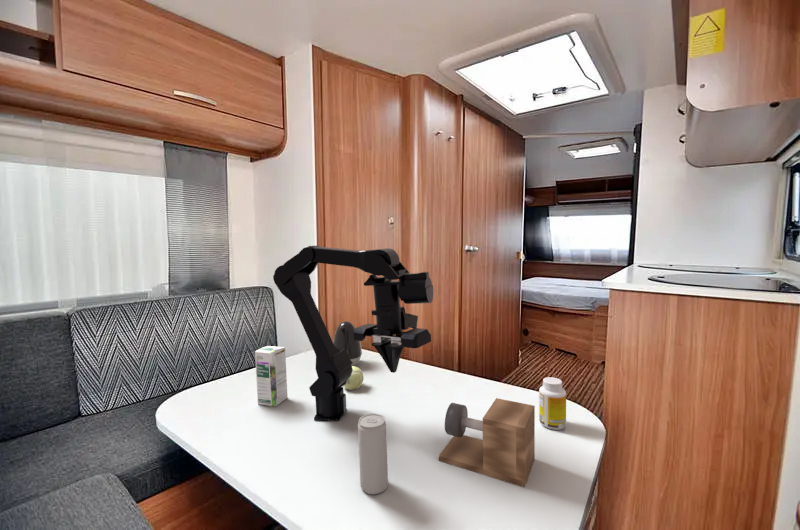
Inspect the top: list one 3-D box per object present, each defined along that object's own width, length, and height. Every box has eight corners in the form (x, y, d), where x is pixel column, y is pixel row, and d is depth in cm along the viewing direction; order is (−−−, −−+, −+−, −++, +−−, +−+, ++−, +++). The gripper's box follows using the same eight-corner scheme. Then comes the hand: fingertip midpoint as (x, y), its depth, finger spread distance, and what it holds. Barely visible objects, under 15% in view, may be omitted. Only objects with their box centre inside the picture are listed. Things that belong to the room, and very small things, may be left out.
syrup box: (256, 404, 95) (253, 351, 94) (271, 395, 101) (268, 344, 100) (275, 407, 94) (271, 352, 92) (288, 397, 99) (285, 345, 98)
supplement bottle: (571, 425, 80) (571, 381, 79) (556, 434, 77) (556, 387, 76) (548, 415, 85) (549, 373, 84) (534, 423, 82) (533, 379, 81)
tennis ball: (337, 364, 105) (350, 370, 100) (355, 362, 109) (369, 367, 104) (335, 387, 104) (348, 393, 99) (354, 383, 109) (367, 389, 104)
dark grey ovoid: (327, 370, 119) (325, 325, 117) (338, 359, 129) (336, 317, 128) (357, 371, 117) (355, 325, 116) (365, 360, 127) (364, 318, 126)
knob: (445, 440, 70) (444, 410, 69) (456, 425, 75) (455, 397, 75) (488, 452, 66) (487, 420, 65) (497, 436, 71) (496, 406, 70)
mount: (438, 460, 69) (437, 407, 68) (455, 437, 77) (455, 389, 76) (525, 487, 61) (524, 428, 60) (534, 458, 69) (534, 405, 68)
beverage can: (384, 498, 60) (381, 428, 59) (356, 494, 61) (353, 426, 60) (390, 478, 64) (388, 414, 64) (365, 476, 65) (362, 412, 64)
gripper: (441, 299, 81) (447, 366, 82) (380, 297, 93) (385, 356, 94) (412, 308, 73) (419, 383, 74) (348, 305, 84) (355, 370, 85)
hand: (393, 371), depth 82 cm, fingers closed
